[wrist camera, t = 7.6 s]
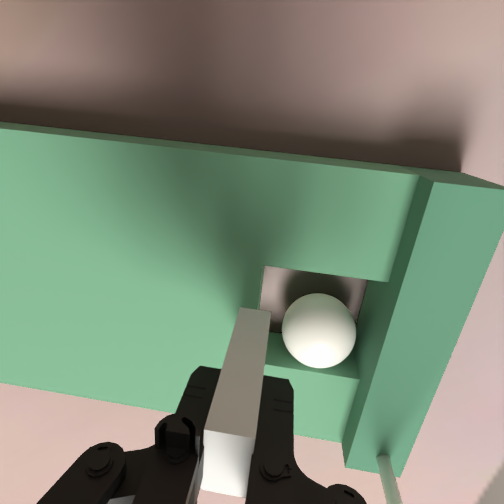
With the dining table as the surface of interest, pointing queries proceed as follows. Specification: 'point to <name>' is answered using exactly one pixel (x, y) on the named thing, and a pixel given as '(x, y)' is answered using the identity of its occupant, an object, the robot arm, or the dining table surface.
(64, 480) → the robot arm
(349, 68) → the dining table surface
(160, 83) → the dining table surface
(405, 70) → the dining table surface
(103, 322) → the putting mat
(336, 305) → the ball
